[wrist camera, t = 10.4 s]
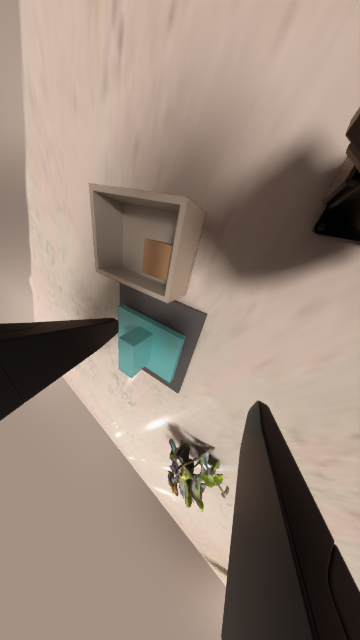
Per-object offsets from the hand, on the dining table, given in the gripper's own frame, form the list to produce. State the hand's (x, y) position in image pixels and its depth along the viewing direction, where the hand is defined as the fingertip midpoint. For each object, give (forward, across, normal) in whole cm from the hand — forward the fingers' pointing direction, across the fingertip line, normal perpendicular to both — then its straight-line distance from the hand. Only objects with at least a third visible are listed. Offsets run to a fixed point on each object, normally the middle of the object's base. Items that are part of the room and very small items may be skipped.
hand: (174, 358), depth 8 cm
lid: (+12, +10, +12) cm, 20 cm away
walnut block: (+12, +9, -3) cm, 16 cm away
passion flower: (+13, -8, +35) cm, 38 cm away
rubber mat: (+13, +10, +12) cm, 20 cm away
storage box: (+13, +12, -4) cm, 18 cm away
